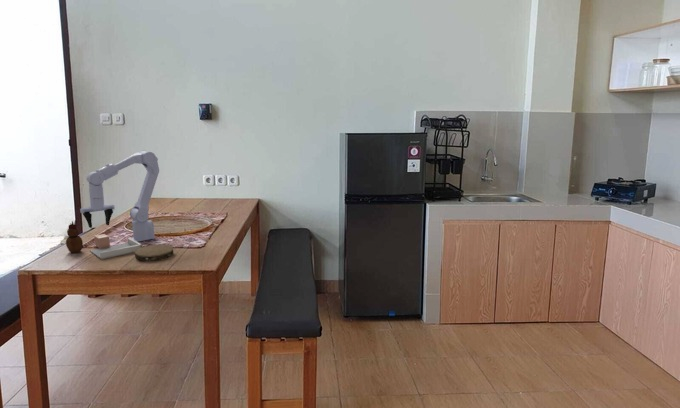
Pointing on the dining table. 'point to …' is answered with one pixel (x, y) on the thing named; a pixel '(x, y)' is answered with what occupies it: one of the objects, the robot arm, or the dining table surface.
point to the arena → (117, 249)
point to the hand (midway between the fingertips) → (99, 226)
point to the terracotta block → (102, 241)
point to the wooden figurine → (74, 239)
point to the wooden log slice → (154, 253)
